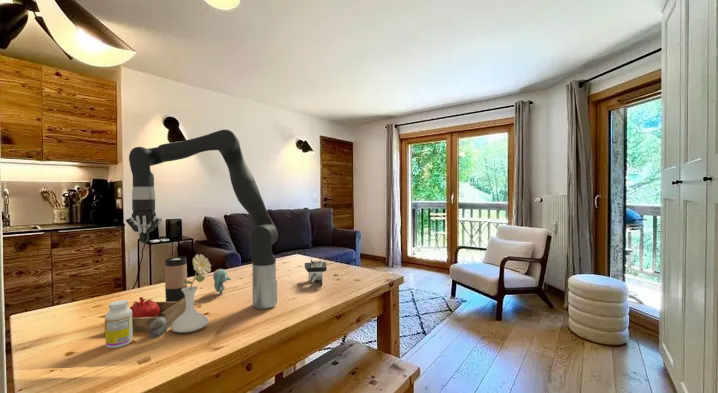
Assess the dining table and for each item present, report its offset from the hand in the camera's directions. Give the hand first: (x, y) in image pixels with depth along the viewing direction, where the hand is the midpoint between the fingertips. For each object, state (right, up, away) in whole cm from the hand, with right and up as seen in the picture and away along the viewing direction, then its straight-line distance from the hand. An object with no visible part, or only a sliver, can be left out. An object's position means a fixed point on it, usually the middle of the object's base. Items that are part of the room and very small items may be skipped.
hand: (144, 242), depth 124 cm
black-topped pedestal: (+63, -27, +33) cm, 76 cm away
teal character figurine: (+23, -27, +18) cm, 40 cm away
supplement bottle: (+11, -28, -28) cm, 40 cm away
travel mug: (+11, -27, +3) cm, 29 cm away
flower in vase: (+28, -27, -16) cm, 42 cm away
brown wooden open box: (+10, -27, -13) cm, 32 cm away
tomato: (+7, -27, -11) cm, 31 cm away
